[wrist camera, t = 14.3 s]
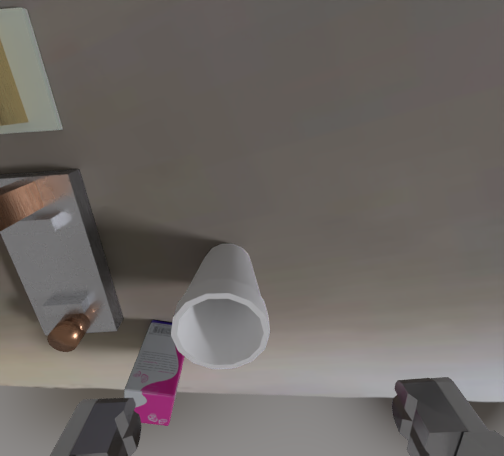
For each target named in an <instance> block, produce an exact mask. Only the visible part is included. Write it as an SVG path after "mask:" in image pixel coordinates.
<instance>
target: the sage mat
mask: <svg viewBox="0 0 504 456" xmlns="http://www.w3.org/2000/svg"><path fill="white" fill-rule="evenodd" d="M0 39H1V42H2V45H3V48H4V51H5V54H6V57H7V60H8V63H9V66H10V69H11V72H12V75H13V77H14V80H15V83H16V86H17V89H18V92H19V95H20V98H21V101H22V104H23V107H24V110H25V113H26V115H27V118H28V121H29V122H26V123H19V124H11V125H3V126H0V134H7V133H22V132H36V131H50V130H61V129H63V128H62V124H61V121H60V118H59V114H58V111H57V108H56V104H55V101H54V98H53V95H52V91H51V88H50V85H49V81H48V78H47V75H46V71H45V68H44V65H43V61H42V58H41V55H40V51H39V48H38V45H37V41H36V38H35V35H34V31H33V28H32V25H31V22H30V18H29V15H28V12H27V9H24V8H7V9H0Z"/></svg>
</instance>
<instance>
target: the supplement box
mask: <svg viewBox="0 0 504 456" xmlns="http://www.w3.org/2000/svg"><path fill="white" fill-rule="evenodd" d="M171 329H172V323H169V322H163V321H157V320H152V322H151V324H150V326H149V329H148V331H147V334H146V336H145V339H144V341H143V344H142V346H141V349H140V351H139V354H138V357H137V359H136V362H135V364H134V367H133V369H132V372H131V374H130V377H129V379H128V382H127V384H126V387H125V390H124V398H134V401H135V403H136V406H135V409H134V411H135V412H136V413H138V414H139V416H140V419H141V423H148V424H158V425H165V426H168V425H169V422H170V418H171V414H172V410H173V404H174V401H175V396H176V392H177V387H178V383H179V378H180V374H181V370H182V365H183V361H184V355H182V354H181V353H180V352H179V351H178V350H177V348H176V345H175V343H174V341H173V339H172V337H171Z"/></svg>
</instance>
